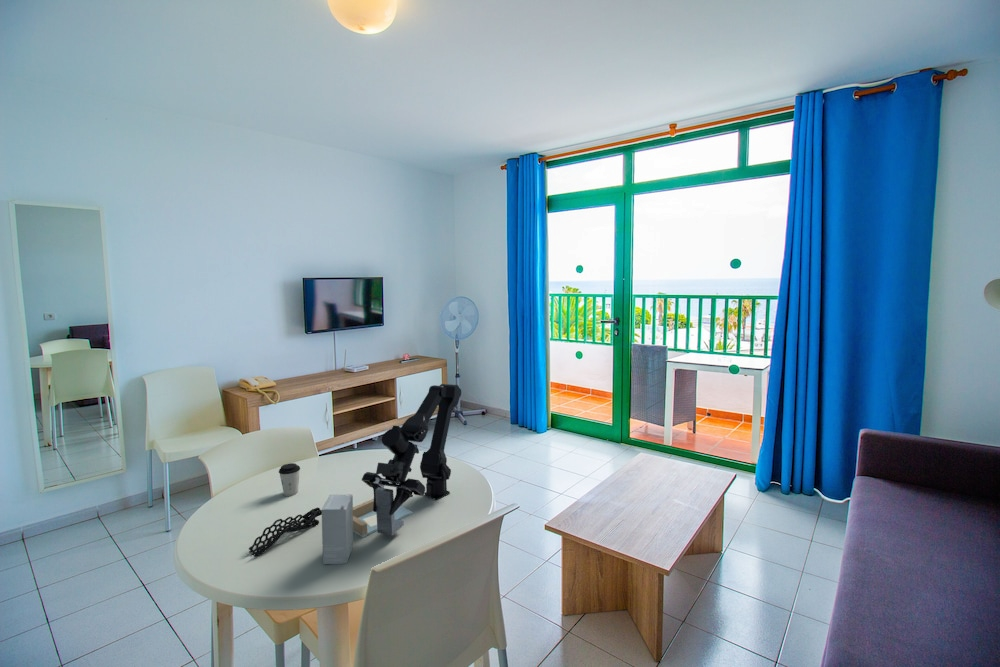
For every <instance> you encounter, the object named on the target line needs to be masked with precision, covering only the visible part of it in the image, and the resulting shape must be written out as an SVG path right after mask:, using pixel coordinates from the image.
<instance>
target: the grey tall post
mask: <svg viewBox="0 0 1000 667" xmlns="http://www.w3.org/2000/svg"><path fill="white" fill-rule="evenodd" d="M375 495H376V514H377V531H376V532H377V533H379V534H382V535H387V536H393V535H395V534H396V533H397V532H398V531H400V529H401V528H402V527H403V526H404V524H405V523H404V521H403V520H401V519H400V520H395V517H394V513H393V515H390V514H389V513H390V509H391V506H392V504H393V501H394V499H395V497H394V489H390V488H386V487H384V488H380V487H378V488H377V489H375Z"/></svg>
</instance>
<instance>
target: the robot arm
mask: <svg viewBox="0 0 1000 667" xmlns="http://www.w3.org/2000/svg"><path fill="white" fill-rule="evenodd" d="M461 396H462V388H460V386H459V385H458V384H451V383H450V384H449V383H440V385H430V387H429V389H428V392H427V394H426V396H425V397H424V399H423V400H422V402H421V404H420V405H419V407H418V409H417V411H416V412H415V414H413V415H412V416H409V417H408V418H407V419H406V420H405V422H404V423H403V424H402V425H401V426H400V425H392V428H391V429H388V430H387V431H385V432H384V433H383V434H382V437H381V443H382V445H383V446H384V447H386V449H387V450H388V451H389V452H390V453H391V454H393V458H391V459H389V460H388V461H387V463H384V462H378V463H377V465H376V471H375V472H370V471H366V472H365V473H364V474H362V477H361V481H362V482H363V483H365V485H367V486H368V487H370V488H372V491H373V499H374V505H373V511H374V512H376V495H375V489H377V488H378V487H380V488H385V486H386V487H393V488H395V489H396V490H395V491H396V492H395V495H394V496H395V497H394V501H393V504H392V506H391V509H390V513H389V514H390V515H393V513H394V512H395V511H396V510H397V509H398V508H399V507H400V506H402V505H403V504H404V503H405V502H406V501H407V500H409V499H410V498H413V497H414V495H415V496H420V497H423V496H427V497H429V498H432V499H433V500H439V499H441V498H444V497H445V496H447V495H449V494H451V492H450V491H449V490H448V489H447V486H448V485H447V480H450V477H451V474H452V469H451V468H450V467H449V466H448V465H447V462H448V460H447V456H446V453H445V448H446V447H445V446H446V442H447V437H448V432H449V428H450V422H451V417H452V413H453V410H454V409H455V408H456V406H457V405H458V404H459V401H460V398H461ZM437 408H438V409H437ZM436 410H437V414H436V419H435V422H434V429H433V432H432V437H431V441H430V447H429V448H428V450H427V451H424V452H423V453H422V458H421V460H420V465H419V469H420V470H419V471H420V473H421V476H422V479H426V484H423V482H421V481H420V480H418V479H415V478H407V477H408V475H409V473H411V472H412V469H413V468H411V466H412V463H413V460H414V459H415V458H414V457H415V454H419V453H420V450H419V448H418V445H417V444H414V443H413V442H415V443H422V442H424V440H425V439H426V437H427V434H428V431H429V425H428V424H429V422H430V420H431V418H432V416H433V414H434V413H435V411H436ZM380 474H381V476H380ZM425 486H426V487H425ZM448 493H449V494H448ZM424 494H425V495H424ZM446 494H447V495H446ZM444 495H445V496H444Z"/></svg>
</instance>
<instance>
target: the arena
mask: <svg viewBox="0 0 1000 667" xmlns="http://www.w3.org/2000/svg"><path fill="white" fill-rule="evenodd" d="M373 505H374V498H371V499H369V500H367V501H364V502H362V503H360V504H357V505H355V506H353V534H356V535H358V536H359V537H361V538H365V537H367V536H370V535H371V534H373V533H375V532H377V514H376V512H374V511H373ZM412 514H413V511H411V510H410V509H408V508H406V507H404V506H402V505H401V506H400V507H399V508H398V509H397V510H396V511H395V512H394V517H395V520H400V521H401V520H402V519H404V518H406V517H407V516H410V515H412Z"/></svg>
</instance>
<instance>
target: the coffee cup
mask: <svg viewBox="0 0 1000 667" xmlns="http://www.w3.org/2000/svg"><path fill="white" fill-rule="evenodd" d="M300 470H301V467H300V466H299V465H298V464H297V463H295V462H294V463H293V462H292V463H286V464H283V465H281V466H280V468H279V470H278V474H279V478H280V481H281V487H282V491H283V495H284V497H292V495H293V496H296V495H297V494H298V493H299V484H300Z"/></svg>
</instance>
